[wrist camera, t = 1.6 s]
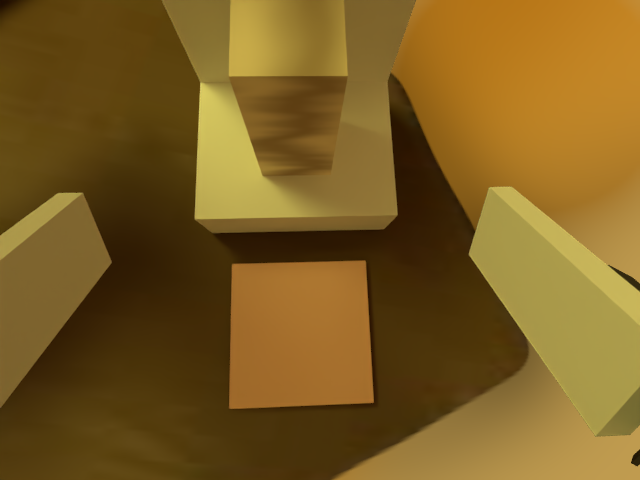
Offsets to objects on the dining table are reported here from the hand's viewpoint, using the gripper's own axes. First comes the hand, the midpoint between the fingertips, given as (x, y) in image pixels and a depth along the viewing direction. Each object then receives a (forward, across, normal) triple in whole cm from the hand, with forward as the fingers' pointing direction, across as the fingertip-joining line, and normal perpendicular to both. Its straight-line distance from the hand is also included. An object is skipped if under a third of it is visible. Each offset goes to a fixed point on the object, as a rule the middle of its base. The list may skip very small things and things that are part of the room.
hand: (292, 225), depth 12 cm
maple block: (+18, 0, -3) cm, 18 cm away
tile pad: (+11, 0, -17) cm, 20 cm away
